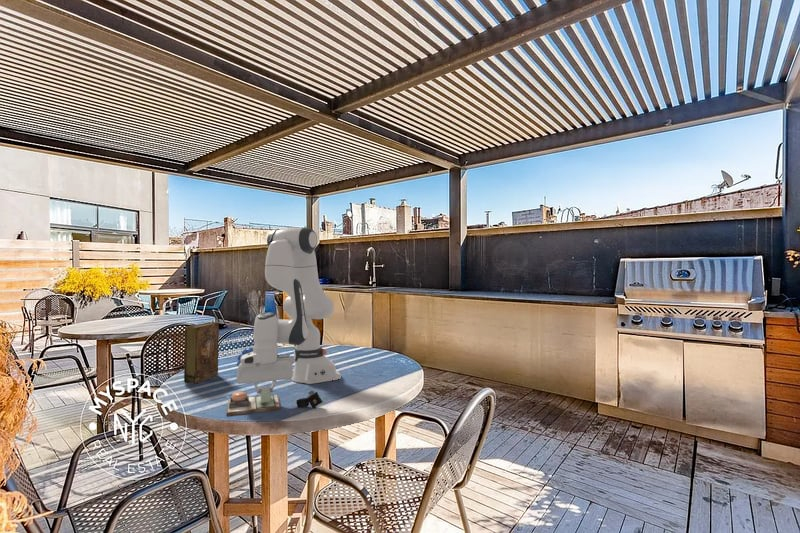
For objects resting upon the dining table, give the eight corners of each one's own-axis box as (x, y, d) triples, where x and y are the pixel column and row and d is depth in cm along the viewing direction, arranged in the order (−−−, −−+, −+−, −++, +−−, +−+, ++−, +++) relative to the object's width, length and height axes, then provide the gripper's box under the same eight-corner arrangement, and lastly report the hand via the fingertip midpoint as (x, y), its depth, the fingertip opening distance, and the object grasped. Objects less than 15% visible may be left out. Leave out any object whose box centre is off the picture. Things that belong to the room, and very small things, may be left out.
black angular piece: (301, 415, 141) (293, 402, 141) (303, 413, 143) (295, 400, 144) (321, 403, 141) (313, 390, 141) (322, 401, 143) (314, 388, 143)
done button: (246, 397, 145) (246, 390, 145) (246, 401, 140) (246, 395, 140) (232, 398, 143) (232, 392, 143) (231, 403, 138) (231, 396, 138)
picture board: (277, 396, 153) (277, 389, 154) (280, 409, 140) (280, 401, 140) (228, 402, 147) (228, 394, 147) (226, 415, 133) (226, 407, 133)
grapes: (263, 370, 193) (263, 346, 194) (257, 373, 187) (258, 348, 187) (240, 369, 194) (241, 345, 194) (234, 373, 187) (234, 348, 187)
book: (209, 374, 185) (210, 322, 185) (219, 374, 184) (220, 322, 184) (184, 383, 169) (184, 326, 169) (194, 384, 168) (195, 327, 168)
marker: (268, 393, 150) (268, 385, 150) (270, 401, 141) (270, 392, 141) (260, 394, 149) (260, 385, 149) (261, 402, 140) (261, 393, 140)
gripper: (292, 352, 153) (292, 387, 153) (236, 356, 145) (236, 392, 145) (294, 355, 147) (294, 392, 147) (236, 360, 139) (236, 398, 139)
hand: (265, 392), depth 146 cm, fingers closed on marker, 3 cm apart
